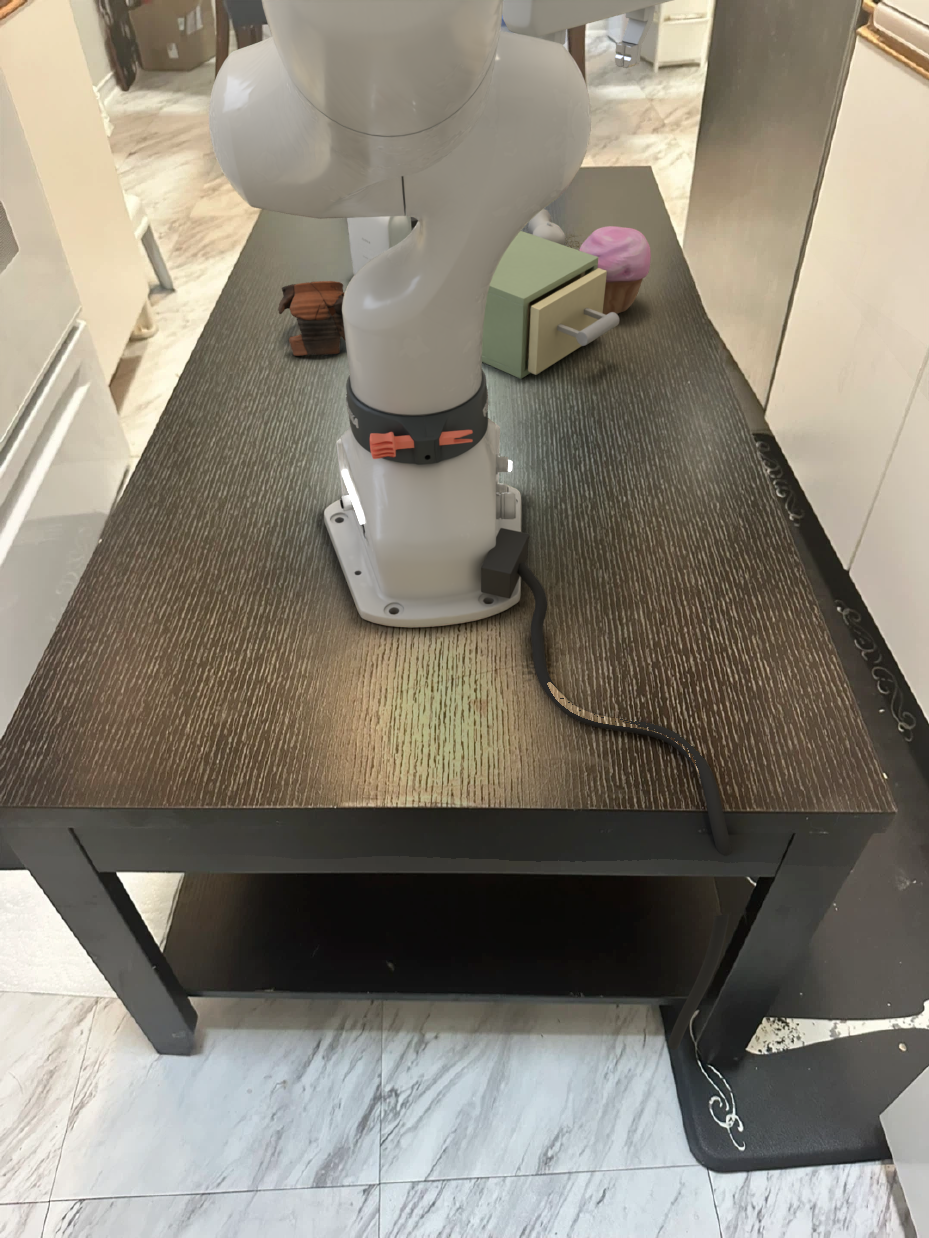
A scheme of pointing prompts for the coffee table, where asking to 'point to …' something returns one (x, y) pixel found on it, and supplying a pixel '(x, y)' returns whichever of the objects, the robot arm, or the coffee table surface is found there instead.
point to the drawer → (566, 319)
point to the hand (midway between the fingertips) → (592, 76)
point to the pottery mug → (315, 316)
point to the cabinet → (524, 295)
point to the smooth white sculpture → (546, 228)
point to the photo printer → (375, 236)
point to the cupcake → (619, 264)
